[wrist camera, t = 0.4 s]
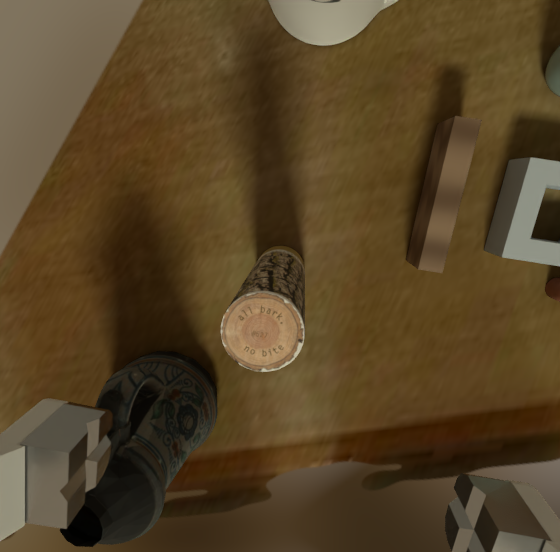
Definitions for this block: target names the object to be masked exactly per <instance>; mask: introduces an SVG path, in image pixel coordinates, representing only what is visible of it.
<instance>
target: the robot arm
mask: <svg viewBox="0 0 560 552" xmlns="http://www.w3.org/2000/svg"><path fill="white" fill-rule="evenodd" d="M268 1H269V3H270V6H271V8H272V11H273V13H274V15H275V16H276V18H277V20H278V21H279V23H280V24H281V25H282V26H283V27H284V28H285V30H287V31H288V32H289V33H290V34H291V35H293V36H294V37H296V38H297V39H299V40H301V41H303V42H306V43H309V44H314V45H333V44H338V43H341V42H344V41H346V40H348V39H350V38H352V37H354V36H355V35H357V34H358V33H359V32H360V31H362V30H363V29H364V28H365V27H366V26H367V25H368V24H369V23H370V21H371V20H372V19H373V18H374V17H375V15H376V14H377V13H378V12H379V11H381V10H382V9H384V8H386V7H388V6H390V5H392V4H393V3H395V2H397V1H398V0H268ZM112 420H113V414H112V412H111V411H110V410H107V409H102V408H97V407H92V406H87V405H82V404H77V403H72V402H67V401H61V400H56V399H50V398H48V399H43V400H42V401H40V402H39V403H38V404H37V405H36V406H34V407H33V408H32V409H31V410H29V411H28V412H27V413H26V414H25V415H23V416H22V417H21V418H20V419H18V420H17V421H16V422H15V423H14V424H12V425H11V426H10V427H9V428H7V429H6V430H5V431H4V432H3V433H1V434H0V541H1V540H3V539H4V538H6V537H7V536H9V535H10V534H12V533H14V532H15V531H17V530H18V529H20V528H21V527H23V526H24V525H25V523H30V524H38V525H43V526H50V527H56V528H63V529H67V528H68V526H69V525H70V523H71V522H72V520H73V519H74V518H75V516H76V515H77V513H78V512H79V510H80V509H81V508H82V506H83V505H84V503H85V492H87V491H89V490H91V489H93V488H94V487H96V486H97V484H98V483H99V481H100V480H101V478H102V477H103V474H104V472H105V470H106V467H107V465H108V462H109V457H110V453H111V442H110V440H109V439H108V437H107V435H106V434H107V433H108V431H109V430H110V429H111V428H112ZM454 489H455V491H456V493H457V495H458V498H456V499H455V500H454V501H452V502H451V503H450V504H449V505H448V509H447V513H446V517H445V522H446V523H445V531H446V535H447V540H448V543H449V546H450V549H451V551H452V552H560V520H559V518H558V517H557V516H556V514H555V513H554V512H553V510H552V509H551V508H550V507H549V505H548V504H547V503H546V501H545V500H544V499H543V497H542V496H541V495H540V493H539V492H538V491H537V489H536V488H535V487H533V486H532V485H530V484H529V483H522V482H515V481H509V480H505V481H504V480H498V479H493V478H487V477H480V476H475V475H469V474H463V473H461V474H460V475H459V477H458V478H457V480H456V483H455V486H454Z"/></svg>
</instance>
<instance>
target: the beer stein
mask: <svg viewBox="0 0 560 552" xmlns="http://www.w3.org/2000/svg"><path fill="white" fill-rule="evenodd" d="M95 407H97V408H102V409H107V410H110V411H111V412H112V414H113V420H112V428H111V429H110V430H109V431H108V433H107V434H106V435H107V437H108V439H109V440H110V442H111V453H110V457H109V462H108V465H107V467H106V470H105V472H104V474H103V477H102V478H101V480H100V481H99V483H98V484H97V486H96V487H94V488H93V489H91V490H89V491H87V492H85V503H84V505H83V506H82V508H81V509H80V510H79V512H78V513H77V515H76V516H75V518H74V519H73V520H72V522H71V523H70V525H69V526H68V528H67V529H63V528H60V532H61V533H62V535H63V536H64V537H65V539H66V540H67V541H68V542H70V543H72V544H73V545H75V546H85V547H88V546H89V547H93V546H94V545H95V544H97V543H99V544H119V543H124V542H127V541H130V540H133V539H135V538H138V537H140V536H141V535H143V534H144V533H146V532H147V531H149V530H150V529H151V528H152V527H153V525H154V524H155V523H156V522H157V520H158V518H159V517H160V514H161V512H162V509H163V506H164V500H165V494H166V488H167V487H168V486H169V484H170V483H171V481H172V480H173V478H174V477H175V475H176V474H177V472H178V471H179V470H180V468H181V467H182V465H183V463H184V462H185V460H186V459H187V457H188V456H189V455H190V453H191V452H192V451H194V450H195V449H197V448H198V447H199V446H200V445H202V444H203V443H204V441H205V440H206V439H207V438H208V436H209V435H210V433H211V432H212V430H213V428H214V425H215V422H216V418H217V392H216V387H215V385H214V383H213V381H212V379H211V377H210V375H209V373H208V372H207V371H206V370H205V369H204V368H203V367H202V366H201V365H200V364H199V363H198V362H197V361H196V360H194V359H191V358H189V357H186V356H184V355H181V354H178V353H176V352H162V351H157V352H154V353H151V354H148V355H145V356H142V357H140V358H138V359H136V360H134V361H132V362H131V363H129V364H127V365H126V366H125V367H124V368H123V369H121V370H119V371H118V372H116V373H115V374H114V375H112V376H111V377H110V378H109V380H108V381H107V382H106V384H105V385H104V387H103V389H102V391H101V393H100V395H99V398H98V400H97V403H96V406H95Z"/></svg>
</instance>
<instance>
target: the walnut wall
mask: <svg viewBox="0 0 560 552" xmlns="http://www.w3.org/2000/svg"><path fill="white" fill-rule="evenodd" d="M481 121H482V120H480V119H473V118H466V117H460V116H454V117H452V118H449V119H447V120H445V121H443V122H441V123H438V125H437V129H436V133H435V138H434V142H433V146H432V150H431V155H430V159H429V163H428V168H427V172H426V176H425V181H424V185H423V189H422V193H421V198H420V202H419V206H418V211H417V215H416V219H415V223H414V228H413V232H412V236H411V241H410V245H409V249H408V254H407V258H406V260H407V261H408V262H409V263H411V264H412V265H413V266H415V267H416V268H417V269H420V270H426V271H432V272H439V273H442V272H443V268H444V264H445V261H446V257H447V253H448V249H449V245H450V241H451V237H452V233H453V229H454V226H455V222H456V218H457V214H458V210H459V206H460V202H461V198H462V194H463V191H464V187H465V183H466V179H467V175H468V171H469V167H470V163H471V159H472V156H473V152H474V148H475V144H476V140H477V136H478V132H479V128H480V124H481Z"/></svg>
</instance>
